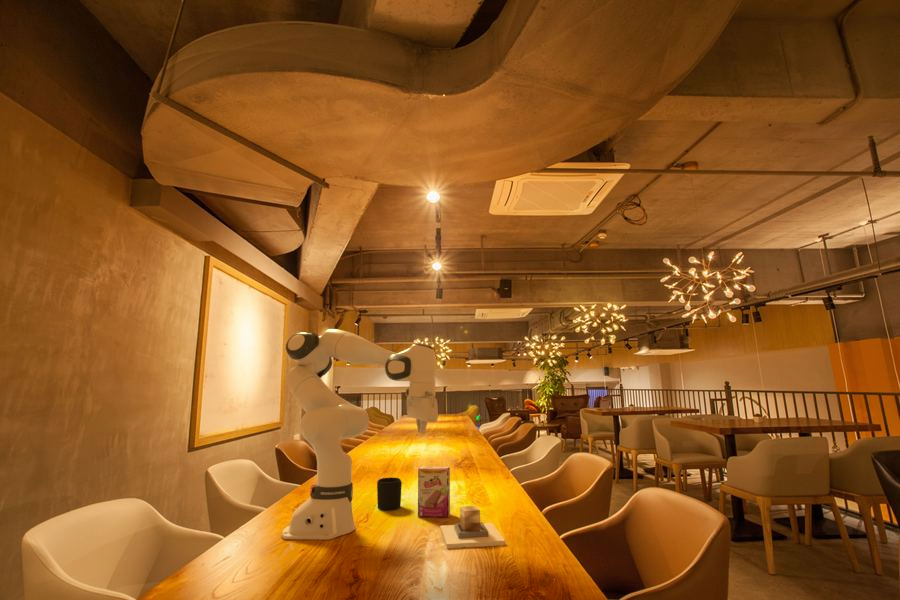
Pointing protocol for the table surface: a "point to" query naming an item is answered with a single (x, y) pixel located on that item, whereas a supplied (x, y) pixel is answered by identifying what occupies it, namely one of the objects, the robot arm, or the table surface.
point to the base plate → (471, 536)
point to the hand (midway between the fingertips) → (421, 433)
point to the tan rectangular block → (469, 518)
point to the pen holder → (389, 493)
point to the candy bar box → (434, 492)
